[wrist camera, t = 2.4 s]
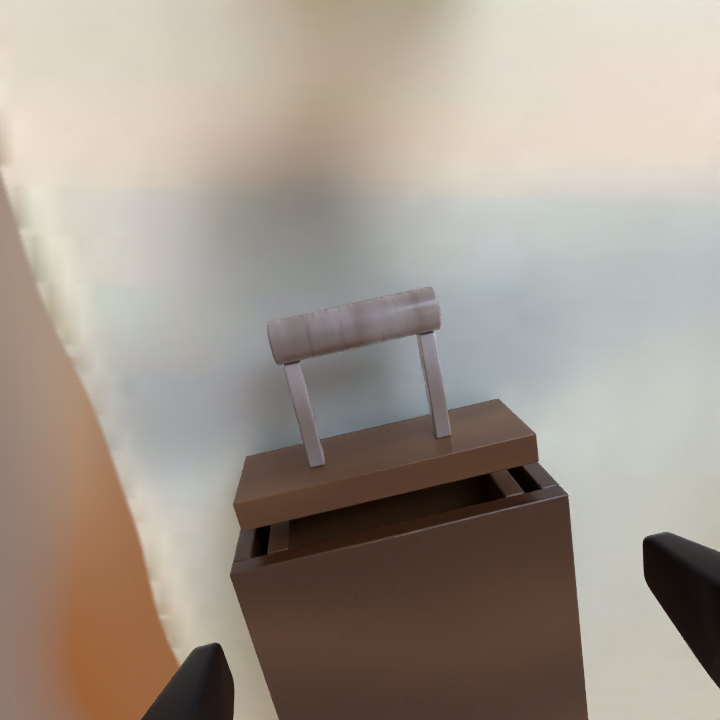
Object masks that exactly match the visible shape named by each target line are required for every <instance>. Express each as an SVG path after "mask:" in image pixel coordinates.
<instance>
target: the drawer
mask: <svg viewBox="0 0 720 720" xmlns="http://www.w3.org/2000/svg"><path fill="white" fill-rule="evenodd" d="M440 326H441V314H440V308H439V303H438V300H437V297H436V294H435V292H434V290H433V288H432V287H425V288H420V289H416V290H411V291H406V292H402V293H397V294H393V295H388V296H384V297H379V298H374V299H370V300H365V301H361V302H356V303H352V304H347V305H343V306H338V307H333V308H329V309H324V310H320V311H315V312H311V313H306V314H302V315H297V316H292V317H288V318H283V319H279V320H274V321H270V322H268V323H267V332H268V338H269V343H270V347H271V351H272V354H273V357H274V360H275V362H276V364H277V365H283V364H284V371H285V375H286V378H287V382H288V386H289V390H290V394H291V397H292V401H293V405H294V409H295V413H296V417H297V420H298V424H299V428H300V432H301V436H302V439H303V444H299V445H295V446H290V447H286V448H282V449H277V450H273V451H268V452H264V453H260V454H255V455H251V456H247V457H246V460H245V463H244V467H243V471H242V474H241V478H240V481H239V485H238V489H237V492H236V496H235V500H234V503H233V506H234V509H235V512H236V515H237V518H238V521H239V524H240V527H241V530H242V531H247V530H251V529H256V528H260V527H264V526H268V525H271V529H270V537H269V544H268V552H267V554H272V553H276V552H280V551H284V550H288V549H293V548H297V547H301V546H305V545H309V544H314V543H318V542H322V541H326V540H330V539H335V538H339V537H343V536H347V535H351V534H356V533H360V532H364V531H368V530H372V529H377V528H381V527H385V526H389V525H393V524H398V523H402V522H406V521H410V520H414V519H419V518H423V517H427V516H431V515H436V514H440V513H444V512H448V511H452V510H457V509H461V508H465V507H469V506H473V505H478V504H482V503H486V502H490V501H494V500H499V499H503V498H507V497H511V496H515V495H520V494H524V493H525V492H524V491H523V490H522V488H521V487H520V486H519V485H518V483H517V482H516V481H515V480H514V478H513V477H512V476H511V475H510V473H509V472H508V471H507V469H510V468H514V467H519V466H523V465H527V464H531V463H536V462H538V461H539V459H538V449H537V440H536V434H535V432H533V431H532V430H531V429H530V428H529V427H528V426H527V425H526V424H525V423H524V422H523V421H522V420H521V419H520V418H518V417H517V416H516V415H515V414H514V413H513V412H512V411H511V410H510V409H509V408H508V407H507V406H506V405H505V404H503V403H502V402H501V401H500V400H499V399H495V400H490V401H486V402H482V403H477V404H473V405H469V406H464V407H460V408H456V409H451V410H447V405H446V399H445V392H444V386H443V380H442V374H441V368H440V362H439V355H438V349H437V343H436V337H435V333H434V332H433V331H435V330H438V329H440ZM413 335H417V341H418V347H419V353H420V358H421V364H422V370H423V376H424V381H425V387H426V393H427V399H428V404H429V410H430V415H425V416H421V417H416V418H412V419H408V420H403V421H399V422H395V423H390V424H386V425H382V426H377V427H373V428H369V429H364V430H360V431H356V432H351V433H347V434H342V435H338V436H334V437H329V438H325V439H321V440H320V437H319V433H318V429H317V425H316V421H315V417H314V413H313V409H312V405H311V401H310V397H309V393H308V389H307V385H306V381H305V377H304V373H303V369H302V365H301V360H305V359H310V358H314V357H319V356H323V355H328V354H332V353H337V352H341V351H346V350H350V349H355V348H359V347H364V346H368V345H373V344H377V343H382V342H386V341H390V340H395V339H399V338H404V337H408V336H413Z"/></svg>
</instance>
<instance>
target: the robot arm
mask: <svg viewBox="0 0 720 720" xmlns="http://www.w3.org/2000/svg"><path fill="white" fill-rule="evenodd" d="M643 566H644V577H645V580H646V583H647V585H648V587H649V588H650V590H651V591H652V593H653V594H654V596H655V597H656V599H657V600H658V602H659V603H660V605H661V606H662V608H663V609H664V611H665V612H666V613H667V615H668V616H669V618H670V619H671V621H672V622H673V624H674V625H675V627H676V628H677V630H678V631H679V633H680V634H681V636H682V637H683V639H684V640H685V642H686V643H687V644H688V646H689V647H690V649H691V650H692V652H693V653H694V655H695V656H696V658H697V659H698V661H699V662H700V663H701V665H702V666H703V668H704V669H705V670H706V672H707V673H708V674H709V676H710V677H711V678H712V680H713V681H714V682H715V683H716V685H717V686H718V687H719V688H720V552H718V551H716V550H713V549H711V548H708V547H705V546H703V545H700V544H698V543H695V542H693V541H690V540H687V539H685V538H682V537H680V536H677V535H675V534H672V533H669V532H662V533H658V534H654V535H650V536H647V537H645V539H644V541H643ZM233 714H234V682H233V677H232V674H231V671H230V669H229V666H228V663H227V660H226V657H225V655H224V652H223V649H222V647H221V646H220V644H218V643H212V644H208V645H204V646H199V647H197V648H195V649H194V650H193V651H192V652H191V653H190V655H189V656H188V657H187V659H186V660H185V661H184V663H183V664H182V665H181V667H180V668H179V669H178V671H177V672H176V673H175V675H174V676H173V678H172V679H171V680H170V682H169V683H168V684H167V686H166V687H165V688H164V690H163V691H162V693H161V694H160V695H159V696H158V698H157V699H156V700H155V702H154V703H153V705H152V706H151V707H150V709H149V710H148V711H147V713H146V714H145V715H144V717H143V718H142V719H141V720H233Z"/></svg>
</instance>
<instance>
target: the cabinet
mask: <svg viewBox="0 0 720 720" xmlns="http://www.w3.org/2000/svg"><path fill="white" fill-rule="evenodd" d="M507 471H508V472H509V473H510V475H511V476H512V477H513V478H514V480H515V481H516V482H517V483H518V485H519V486H520V487H521V488H522V490H523V491H524V492H525V493H524V494H520V495H515V496H511V497H507V498H503V499H499V500H494V501H490V502H486V503H482V504H478V505H473V506H469V507H465V508H461V509H457V510H452V511H448V512H444V513H440V514H436V515H431V516H427V517H423V518H419V519H414V520H410V521H406V522H402V523H398V524H393V525H389V526H385V527H381V528H377V529H372V530H368V531H364V532H360V533H356V534H351V535H347V536H343V537H339V538H335V539H330V540H326V541H322V542H318V543H314V544H309V545H305V546H301V547H297V548H293V549H288V550H284V551H280V552H276V553H272V554H267V552H268V544H269V537H270V529H271V525H268V526H264V527H260V528H256V529H251V530H247V531H242V530H240V534H239V538H238V543H237V547H236V552H235V556H234V560H233V564H232V568H231V573H230V577H231V580H232V583H233V586H234V589H235V592H236V595H237V598H238V601H239V604H240V607H241V609H242V612H243V615H244V618H245V621H246V624H247V627H248V630H249V633H250V636H251V639H252V642H253V645H254V648H255V651H256V654H257V656H258V659H259V662H260V665H261V668H262V671H263V674H264V677H265V680H266V683H267V686H268V689H269V692H270V695H271V698H272V701H273V703H274V706H275V709H276V712H277V715H278V718H279V720H588V713H587V702H586V691H585V679H584V668H583V657H582V646H581V634H580V623H579V612H578V600H577V589H576V578H575V567H574V555H573V544H572V533H571V521H570V510H569V499H568V494H567V493H566V492H565V491H564V490H563V489H562V488H561V486H559V484H558V483H557V482H556V481H555V480H554V479H553V478H552V477H551V476H550V475H549V474H548V473H547V472H546V470H545V469H544V468H543V467H542V466H541V465H540V464H539V463H538V462H536V463H531V464H527V465H523V466H519V467H514V468H510V469H507Z"/></svg>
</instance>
